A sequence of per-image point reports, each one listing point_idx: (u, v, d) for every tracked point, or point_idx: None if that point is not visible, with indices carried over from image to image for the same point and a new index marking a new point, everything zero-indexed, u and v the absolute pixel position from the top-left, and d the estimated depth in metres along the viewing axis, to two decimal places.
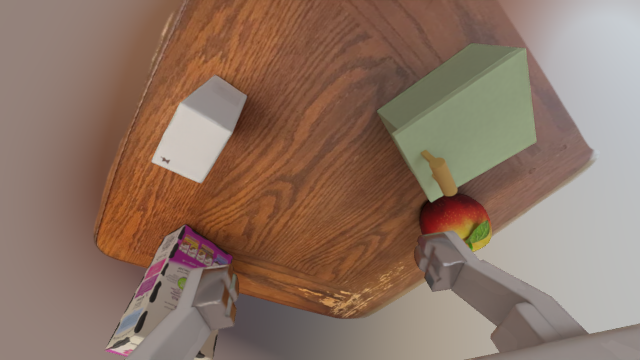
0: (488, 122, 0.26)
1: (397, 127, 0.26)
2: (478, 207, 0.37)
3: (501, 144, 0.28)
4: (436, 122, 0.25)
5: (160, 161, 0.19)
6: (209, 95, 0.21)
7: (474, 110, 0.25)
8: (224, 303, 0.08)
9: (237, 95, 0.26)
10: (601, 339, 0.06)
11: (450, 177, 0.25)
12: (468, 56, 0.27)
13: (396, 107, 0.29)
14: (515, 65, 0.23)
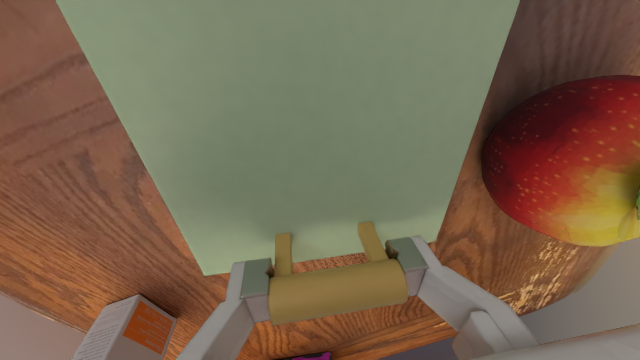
0: (294, 60, 0.07)
1: None
2: (606, 113, 0.12)
3: (427, 22, 0.07)
4: (207, 205, 0.09)
5: None
6: None
7: (217, 102, 0.07)
8: None
9: (117, 320, 0.21)
10: (601, 339, 0.06)
11: (335, 301, 0.08)
12: None
13: None
14: None
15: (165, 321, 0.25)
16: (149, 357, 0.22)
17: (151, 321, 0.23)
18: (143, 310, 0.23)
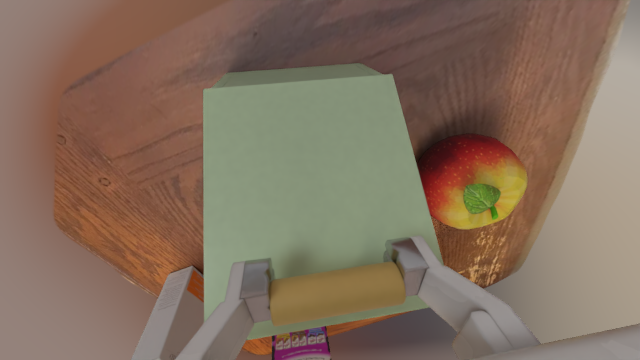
0: (299, 148, 0.14)
1: None
2: (459, 159, 0.23)
3: (362, 130, 0.15)
4: (233, 244, 0.12)
5: None
6: (152, 323, 0.29)
7: (257, 169, 0.13)
8: (269, 296, 0.08)
9: (181, 281, 0.33)
10: (601, 339, 0.06)
11: (331, 283, 0.09)
12: None
13: None
14: (220, 102, 0.15)
15: None
16: (201, 306, 0.33)
17: (200, 284, 0.35)
18: (195, 276, 0.34)
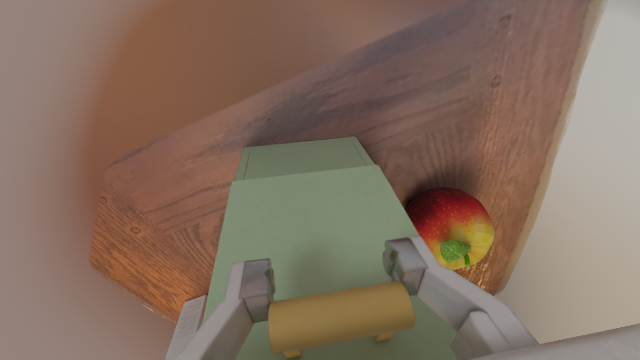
0: (305, 216, 0.16)
1: None
2: (437, 215, 0.27)
3: (359, 200, 0.17)
4: None
5: None
6: (173, 350, 0.33)
7: (267, 233, 0.15)
8: (269, 296, 0.08)
9: (196, 310, 0.37)
10: (601, 339, 0.06)
11: (332, 295, 0.08)
12: None
13: None
14: (244, 188, 0.18)
15: None
16: None
17: None
18: None
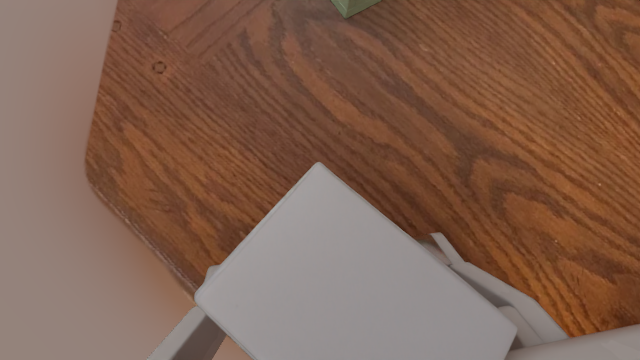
0: None
1: None
2: None
3: None
4: None
5: None
6: None
7: None
8: None
9: None
10: (601, 339, 0.06)
11: None
12: None
13: None
14: None
15: None
16: None
17: None
18: None
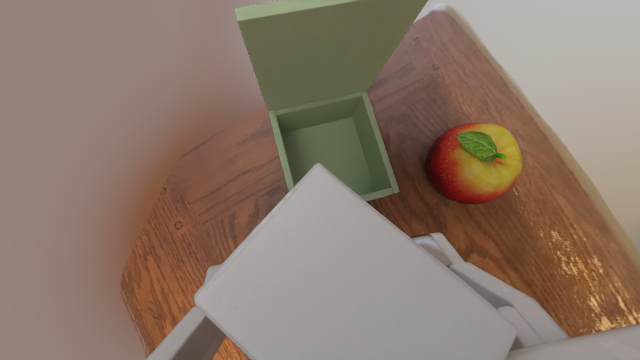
0: None
1: None
2: (446, 136, 0.30)
3: None
4: None
5: None
6: None
7: None
8: None
9: None
10: (601, 339, 0.06)
11: None
12: None
13: None
14: None
15: None
16: None
17: None
18: None
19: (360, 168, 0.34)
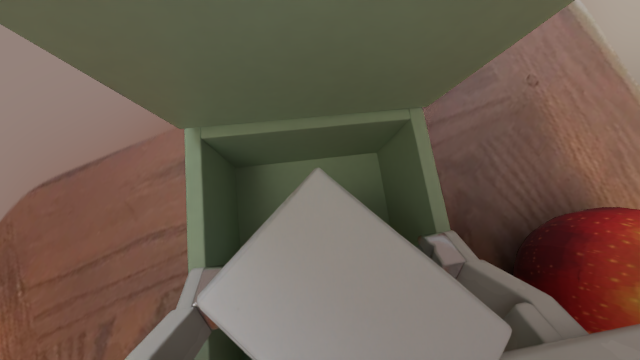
0: None
1: None
2: (594, 234, 0.13)
3: None
4: None
5: None
6: None
7: None
8: None
9: None
10: (601, 339, 0.06)
11: None
12: None
13: None
14: None
15: None
16: None
17: None
18: None
19: None
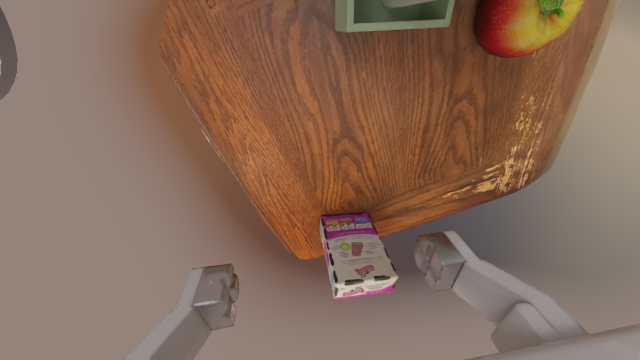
0: None
1: (346, 30, 0.27)
2: None
3: None
4: None
5: None
6: None
7: None
8: (224, 303, 0.08)
9: None
10: (601, 339, 0.06)
11: None
12: None
13: (338, 13, 0.29)
14: None
15: None
16: None
17: None
18: None
19: None
